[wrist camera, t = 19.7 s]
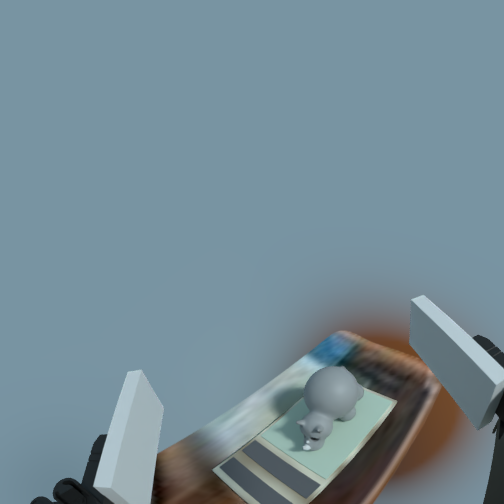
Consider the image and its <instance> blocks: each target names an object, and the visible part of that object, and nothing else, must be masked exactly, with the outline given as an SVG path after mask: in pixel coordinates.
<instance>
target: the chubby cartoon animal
mask: <svg viewBox="0 0 504 504" xmlns="http://www.w3.org/2000/svg"><path fill="white" fill-rule="evenodd" d="M363 396H364V389H363V387H362V386H361V385H360V384H358V383H357V381H356V379H355V377H354V376H353V375H352V374H351V373H350V372H349V371H347V369H346V368H345V367H343V366H342V367H333V366H332V367H325V368H322V369H320V370H318V371H317V372H315V373H314V374H313V375H312V376H311V377H310V378H309V380H308V381H307V383H306V385H305V389H304V400H305V404H306V406H307V407H308V409H309V411H310V412H309V413H308V414H307V415H305V416H304V417H303V419H302V420H298V421H296V424H298V425H300V430H301V432H302V433H303V435H304V446H303V447H302V448H303V450H311V451H317V450H319V449H321V448H322V447H323V445H324V443H325V439H326V438H327V437H328V436H329V435H330V434H331V432H332V430H333V421H334V420H335V419H338V418H340V419H341V420H343V421H349V420H351V419H353V418H354V416H355V415H356V409H355V407H354V406H355V405H356V403H357V401H359V400H360V399H361V398H362V397H363Z"/></svg>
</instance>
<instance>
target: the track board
mask: <svg viewBox="0 0 504 504" xmlns="http://www.w3.org/2000/svg"><path fill="white" fill-rule="evenodd" d="M363 389H364V390H366V391H368V392H371V393H373V394H375V395H378V396H380V397H383V398H385V399H388V400H390V401H393V402H392V404H391V405H390V406H389V408H388V409H387V410H386V412H385V413H384V414H383V415H382V417H381V418H380V419H379V421H378V422H377V423H376V424H375V426H374V427H373V428H372V429H371V431H370V432H369V433H368V434H367V435H366V437H365V438H364V439H363V440H362V441H361V443H360V444H359V445H358V446H357V447H356V448H355V449H354V451H353V452H352V453H351V454H350V455H349V456H348V457H347V458H346V460H345V461H344V462H343V463H342V464H341V465H340V466H339V467H338V468H337V469H336V470H335V471H334V472H333V473H332V474H331V475H330V476H329V477H328V478H327V479H324V478H322V477H321V476H319V475H318V474H316V473H314V472H313V471H311V470H310V469H308V468H306V467H305V466H303V465H302V464H300V463H299V462H297V461H296V460H294V459H293V458H291V457H290V456H288V455H287V454H285V453H284V452H282V451H281V450H279V449H278V448H277V447H275V446H274V445H272V444H271V443H270V442H268V441H267V440H265V439H264V438H263V437H261V435H262V434H263V433H264V432H265V431H267V430H268V429H269V428H270V427H271V426H273V425H274V424H275V423H276V422H277V421H279V420H280V419H281V418H282V417H283V416H284V415H285V414H287V413H288V412H289V411H290V410H291V409H292V408H293V407H294V406H296V405H297V404H298V403H299V402H300V401H301V400H302V399H303V398H304V396H303V397H302V398H301V399H299V400H298V401H297V402H296V403H295V404H294V405H293V406H292V407H290V408H289V409H288V410H287V411H286V412H285V413H284V414H282V415H281V416H280V417H279V418H278V419H277V420H275V421H274V422H273V423H272V424H271V425H270V426H268V427H267V428H266V429H265V430H263V431H262V432H261V433H260V434H259V435H257V436H256V437H255V438H254V439H252V440H251V441H250V442H249V443H247V444H246V445H245V446H243V447H242V448H241V449H240V450H238V451H237V452H236V453H234V454H233V455H232V456H230V457H229V458H228V459H226V460H225V461H223V462H222V463H221V464H219V465H218V466H217V467H215V468H214V469H212V470H213V472H214V473H215V474H216V475H217V476H218V477H220V478H221V479H222V480H223V481H224V482H225V483H226V484H227V485H228V486H229V487H230V488H231V489H232V490H233V491H234V492H236V493H237V494H238V495H239V496H240V497H241V498H242V499H243V500H245V501H246V502H247V503H248V504H260V503H259V502H258V501H257V500H256V499H254V498H253V497H252V496H251V495H250V494H248V493H247V492H246V491H245V490H244V489H243V488H242V487H240V486H239V485H238V484H237V483H236V482H235V481H234V480H233V479H231V478H230V477H229V476H228V475H227V474H226V473H225V472H224V471H223V470H222V469H221V468H220V466H222V465H223V464H224V463H226V462H227V461H228V460H230V459H231V458H232V457H234V458H236V459H237V460H238V461H239V462H240V463H241V464H243V465H244V466H245V467H246V468H247V469H249V470H250V471H251V472H252V473H253V474H255V475H256V476H257V477H258V478H260V479H261V480H262V481H263V482H265V483H266V484H267V485H269V486H270V487H271V488H273V489H274V490H275V491H276V492H278V493H279V494H281V495H282V496H283V497H285V498H286V499H287V500H289V501H290V502H292V503H293V504H309V503H310V502H311V501H312V500H313V499H314V498H315V497H316V496H317V495H318V494H319V493H320V492H321V491H322V490H323V489H324V488H325V487H326V486H327V485H328V484H329V483H330V482H331V481H332V480H333V479H334V478H335V477H336V476H337V475H338V474H339V473H340V472H341V471H342V470H343V468H344V467H345V466H346V465H347V464H348V463H349V462H350V461H351V460H352V459H353V457H354V456H355V455H356V454H357V453H358V452H359V451H360V449H361V448H362V447H363V446H364V445H365V443H366V442H367V441H368V440H369V439H370V437H371V436H372V435H373V434H374V432H375V431H376V430H377V429H378V427H379V426H380V425H381V424H382V422H383V421H384V420H385V418H386V417H387V416H388V414H389V413H390V412H391V410H392V409H393V408H394V406H395V405H396V404H397V401H396V400H393V399H391V398H388V397H386V396H383V395H381V394H378V393H376V392H373V391H371V390H368V389H366V388H363ZM254 440H256V441H258V442H259V443H260V444H262V445H263V446H264V447H266V448H267V449H268V450H270V451H271V452H273V453H274V454H275V455H277V456H278V457H280V458H281V459H282V460H284V461H285V462H287V463H288V464H290V465H291V466H293V467H294V468H296V469H297V470H299V471H300V472H302V473H303V474H305V475H306V476H308V477H309V478H311V479H312V480H314V481H316V482H317V483H319V484H320V486H319V487H318V488H317V489H316V490H315V491H314V492H313V493H312V494H311V495H310V496H309V497H308V498H307V499H306V498H304V497H303V496H301V495H300V494H298V493H297V492H296V491H294V490H293V489H291V488H290V487H288V486H287V485H286V484H284V483H283V482H281V481H280V480H279V479H277V478H276V477H275V476H273V475H272V474H271V473H269V472H268V471H267V470H265V469H264V468H263V467H261V466H260V465H259V464H258V463H256V462H255V461H254V460H253V459H251V458H250V457H249V456H248V455H246V454H245V453H244V452H243V451H242V450H243V449H244V448H245V447H247V446H248V445H249V444H251V443H252V442H253V441H254Z"/></svg>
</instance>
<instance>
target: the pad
mask: <svg viewBox="0 0 504 504" xmlns="http://www.w3.org/2000/svg"><path fill="white" fill-rule="evenodd" d="M392 402H393V401H390V400H388V399H385V398H383V397H380V396H378V395H375V394H373V393H371V392H368V391H366V390H364V396H363V397H362V398H361V399H360V400H359V401H357V403H356V405H355V406H354V407H355V409H356V415H355V416H354V418H353V419H351V420H349V421H343V420H341V419H340V418H338V419H335V420H334V421H333V430H332V432H331V434H330V435H329V436H328V437H327V438H326V439H325V443H324V445H323V447H322V448H321V449H319V450H317V451H311V450H303V448H302V447H303V446H304V435H303V433H302V432H301V430H300V425H298V424H296V421H298V420H302V419H303V417H304V416H305V415H307V414H308V413H309V412H310V411H309V409H308V407H307V406H306V404H305V400H304V398H303V399H302V400H301V401H300V402H299V403H298V404H297V405H296V406H294V407H293V408H292V409H291V410H290V411H289V412H288V413H287V414H285V415H284V416H283V417H282V418H281V419H280V420H279V421H277V422H276V423H275V424H274V425H273V426H271V427H270V428H269V429H268V430H267V431H265V432H264V433H263V434H262V435H261V437H263V438H264V439H265V440H267V441H268V442H270V443H271V444H272V445H274V446H275V447H277V448H278V449H279V450H281V451H282V452H284V453H285V454H287V455H288V456H290V457H291V458H293V459H294V460H296V461H297V462H299V463H300V464H302V465H303V466H305V467H306V468H308V469H310V470H311V471H313V472H314V473H316V474H318V475H319V476H321V477H322V478H324V479H327V478H328V477H329V476H330V475H331V474H332V473H333V472H334V471H335V470H336V469H337V468H338V467H339V466H340V465H341V464H342V463H343V462H344V461H345V460H346V458H347V457H348V456H349V455H350V454H351V453H352V452H353V451H354V449H355V448H356V447H357V446H358V445H359V444H360V443H361V441H362V440H363V439H364V438H365V437H366V435H367V434H368V433H369V432H370V431H371V429H372V428H373V427H374V426H375V424H376V423H377V422H378V421H379V419H380V418H381V417H382V415H383V414H384V413H385V412H386V410H387V409H388V408H389V406H390V405H391V404H392Z"/></svg>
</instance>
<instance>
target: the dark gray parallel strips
mask: <svg viewBox="0 0 504 504" xmlns="http://www.w3.org/2000/svg"><path fill="white" fill-rule="evenodd" d="M242 451H243V452H244V453H245V454H246V455H248V456H249V457H250V458H251V459H253V460H254V461H255V462H256V463H258V464H259V465H260V466H261V467H263V468H264V469H265V470H267V471H268V472H269V473H271V474H272V475H273V476H275V477H276V478H277V479H279V480H280V481H281V482H283V483H284V484H286V485H287V486H288V487H290V488H291V489H293V490H294V491H296V492H297V493H298V494H300V495H301V496H303V497H304V498H306V499H307V498H308V497H309V496H310V495H311V494H312V493H313V492H314V491H315V490H316V489H317V488H318V487H319V486H320V484H319V483H317V482H316V481H314V480H312V479H311V478H309V477H308V476H306V475H305V474H303V473H302V472H300V471H299V470H297V469H296V468H294V467H293V466H291V465H290V464H288V463H287V462H285V461H284V460H282V459H281V458H280V457H278V456H277V455H275V454H274V453H273V452H271V451H270V450H268V449H267V448H266V447H264V446H263V445H262V444H260V443H259V442H258V441H256V440H254V441H253V442H252V443H251V444H249V445H248V446H247V447H245V448H244V449H243V450H242ZM220 468H221V469H222V470H223V471H224V472H225V473H226V474H227V475H228V476H229V477H230V478H231V479H233V480H234V481H235V482H236V483H237V484H238V485H239V486H240V487H242V488H243V489H244V490H245V491H246V492H247V493H248V494H250V495H251V496H252V497H253V498H254V499H256V500H257V501H258V502H259V503H260V504H293V503H292V502H290V501H289V500H287V499H286V498H285V497H283V496H282V495H281V494H279V493H278V492H276V491H275V490H274V489H273V488H271V487H270V486H269V485H267V484H266V483H265V482H263V481H262V480H261V479H260V478H258V477H257V476H256V475H255V474H253V473H252V472H251V471H250V470H249V469H247V468H246V467H245V466H244V465H243V464H241V463H240V462H239V461H238V460H237V459H236V458H234V457H232V458H231V459H230V460H228V461H227V462H226V463H224V464H223V465H222V466H220Z"/></svg>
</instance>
